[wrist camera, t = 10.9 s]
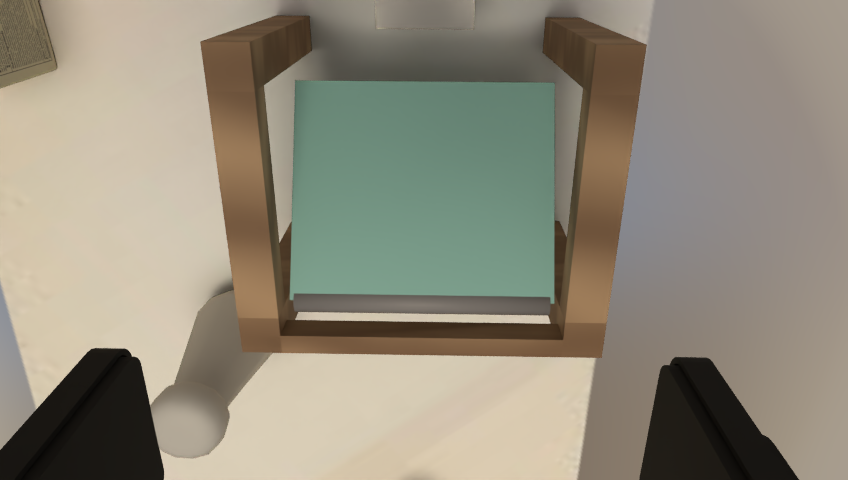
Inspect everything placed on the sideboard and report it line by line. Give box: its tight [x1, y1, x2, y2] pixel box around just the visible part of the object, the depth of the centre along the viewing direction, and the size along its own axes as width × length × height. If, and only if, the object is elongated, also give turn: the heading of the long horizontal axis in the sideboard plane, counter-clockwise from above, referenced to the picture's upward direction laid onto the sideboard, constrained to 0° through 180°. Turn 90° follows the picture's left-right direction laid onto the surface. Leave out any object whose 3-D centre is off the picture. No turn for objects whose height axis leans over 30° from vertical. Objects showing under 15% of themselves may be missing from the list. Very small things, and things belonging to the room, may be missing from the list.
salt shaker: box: [150, 290, 272, 458], centre depth 40 cm, size 6×6×13 cm
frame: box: [201, 16, 647, 358], centre depth 34 cm, size 15×18×13 cm
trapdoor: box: [290, 80, 555, 315], centre depth 32 cm, size 12×13×1 cm
